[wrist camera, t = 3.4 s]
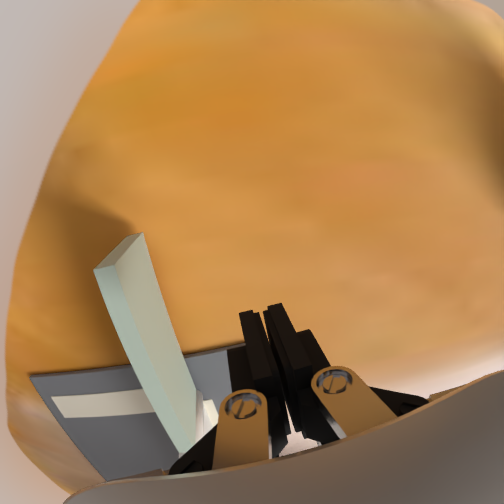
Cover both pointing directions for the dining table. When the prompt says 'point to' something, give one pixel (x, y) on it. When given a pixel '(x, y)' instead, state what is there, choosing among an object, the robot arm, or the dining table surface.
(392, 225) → the dining table surface
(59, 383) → the card
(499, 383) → the robot arm
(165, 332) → the gate panel
